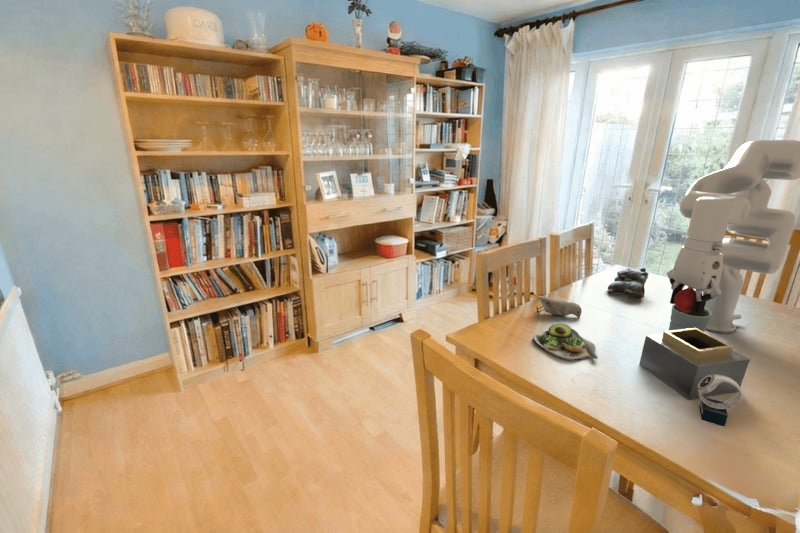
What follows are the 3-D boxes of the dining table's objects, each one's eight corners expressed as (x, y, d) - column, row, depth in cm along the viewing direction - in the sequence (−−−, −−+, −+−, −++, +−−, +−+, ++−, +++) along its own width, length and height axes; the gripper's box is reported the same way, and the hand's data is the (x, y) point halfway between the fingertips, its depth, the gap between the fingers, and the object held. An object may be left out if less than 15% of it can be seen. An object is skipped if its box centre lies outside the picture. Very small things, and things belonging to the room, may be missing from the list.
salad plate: (614, 356, 116) (617, 343, 114) (572, 371, 109) (574, 357, 107) (564, 329, 132) (566, 317, 131) (525, 340, 125) (527, 328, 124)
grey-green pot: (695, 337, 126) (704, 305, 122) (707, 353, 117) (717, 318, 113) (660, 332, 129) (668, 301, 125) (669, 347, 120) (678, 314, 116)
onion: (701, 318, 100) (709, 291, 97) (676, 316, 101) (683, 289, 99) (690, 309, 105) (697, 282, 103) (667, 307, 107) (674, 281, 104)
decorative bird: (581, 321, 138) (584, 302, 135) (535, 316, 141) (537, 298, 139) (578, 315, 142) (581, 297, 140) (534, 310, 146) (536, 293, 144)
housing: (684, 358, 114) (694, 322, 110) (738, 391, 99) (752, 351, 95) (639, 365, 111) (647, 327, 107) (688, 400, 96) (700, 358, 92)
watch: (689, 403, 95) (700, 366, 91) (730, 415, 91) (743, 377, 87) (691, 417, 90) (702, 378, 87) (734, 430, 86) (748, 390, 83)
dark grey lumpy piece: (599, 290, 164) (608, 260, 165) (620, 298, 167) (628, 269, 168) (629, 294, 149) (638, 261, 150) (651, 302, 153) (660, 270, 154)
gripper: (749, 254, 89) (727, 321, 95) (685, 236, 106) (671, 295, 111) (722, 255, 88) (702, 324, 94) (662, 237, 104) (648, 296, 110)
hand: (685, 307), depth 103 cm, fingers closed on onion, 5 cm apart
